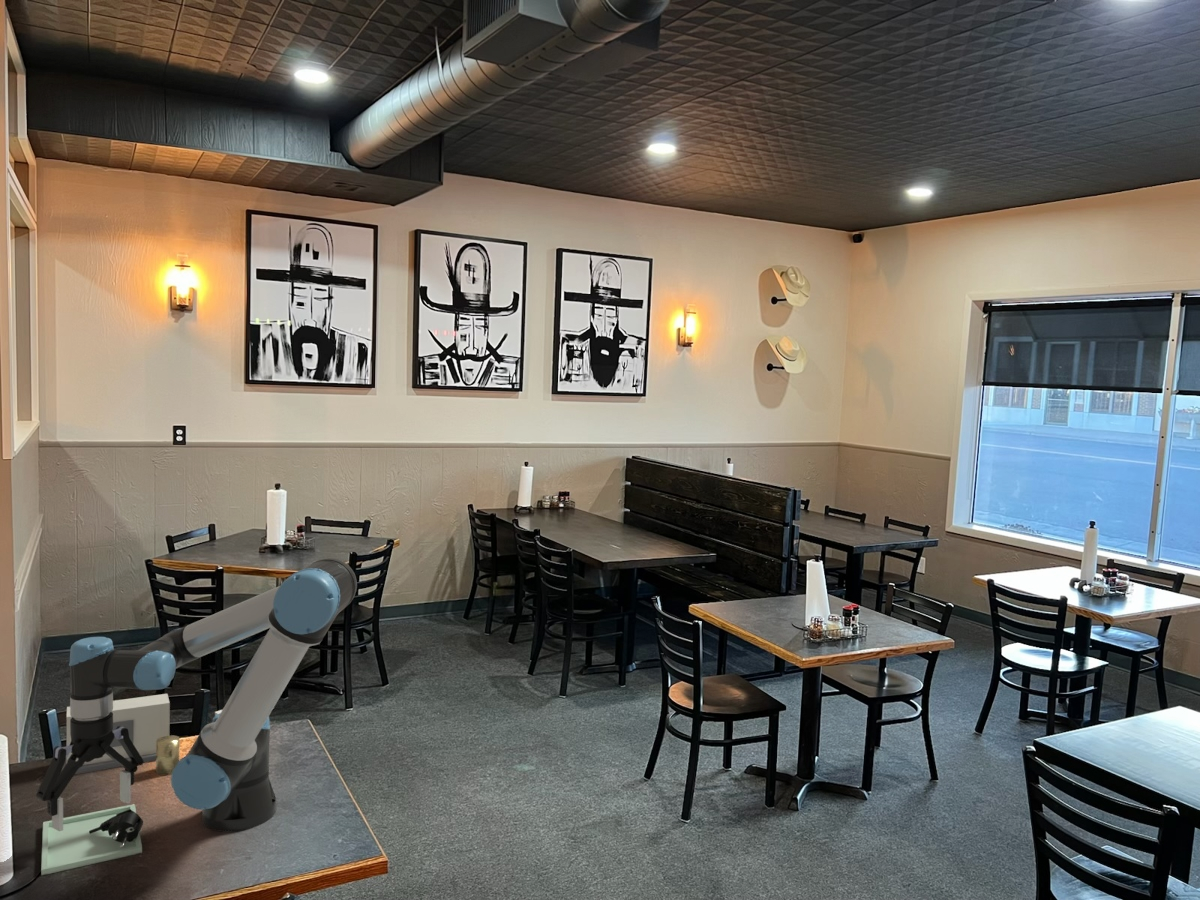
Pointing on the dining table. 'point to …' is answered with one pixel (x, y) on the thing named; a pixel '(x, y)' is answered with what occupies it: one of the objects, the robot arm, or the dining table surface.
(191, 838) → the dining table surface
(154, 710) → the box
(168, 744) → the cylinder
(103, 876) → the dining table surface
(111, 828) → the power plug
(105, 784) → the dining table surface
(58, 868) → the tray
